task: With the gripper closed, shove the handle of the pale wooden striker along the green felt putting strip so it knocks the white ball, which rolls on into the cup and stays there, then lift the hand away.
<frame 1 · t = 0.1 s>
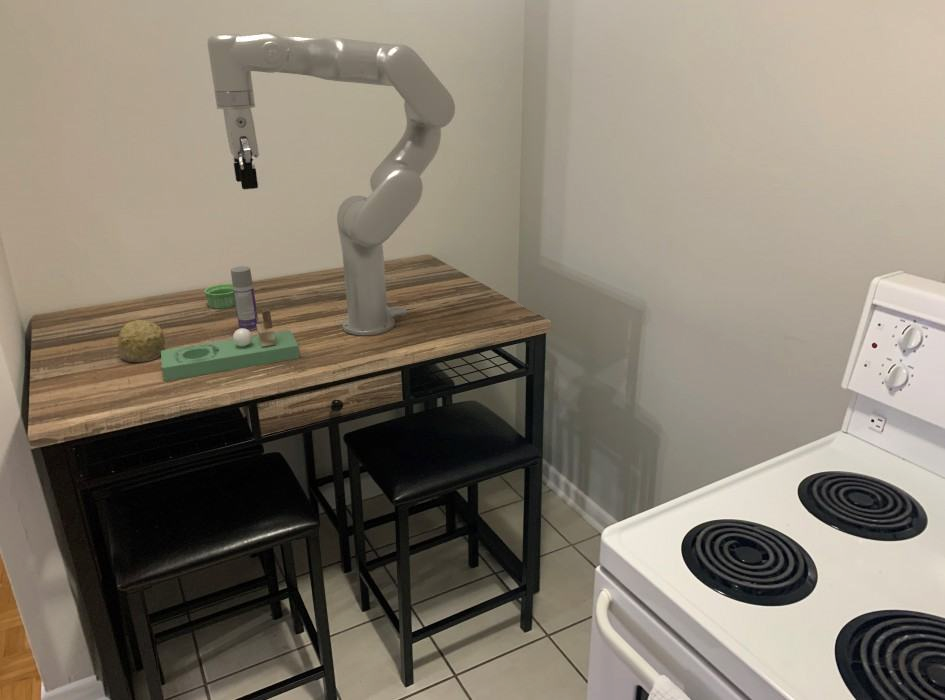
hand: (247, 184, 156), 37 cm above the table, tool pointing down, fingers open, 9 cm apart
striker: (264, 325, 161), point 7 cm above the table, slide at 0.0 cm
ramekin: (224, 305, 196), on the table
golf ball: (242, 337, 160), point 5 cm above the table, touching putting green
rock: (144, 355, 165), on the table
container: (249, 328, 180), on the table
putting green: (231, 360, 161), on the table
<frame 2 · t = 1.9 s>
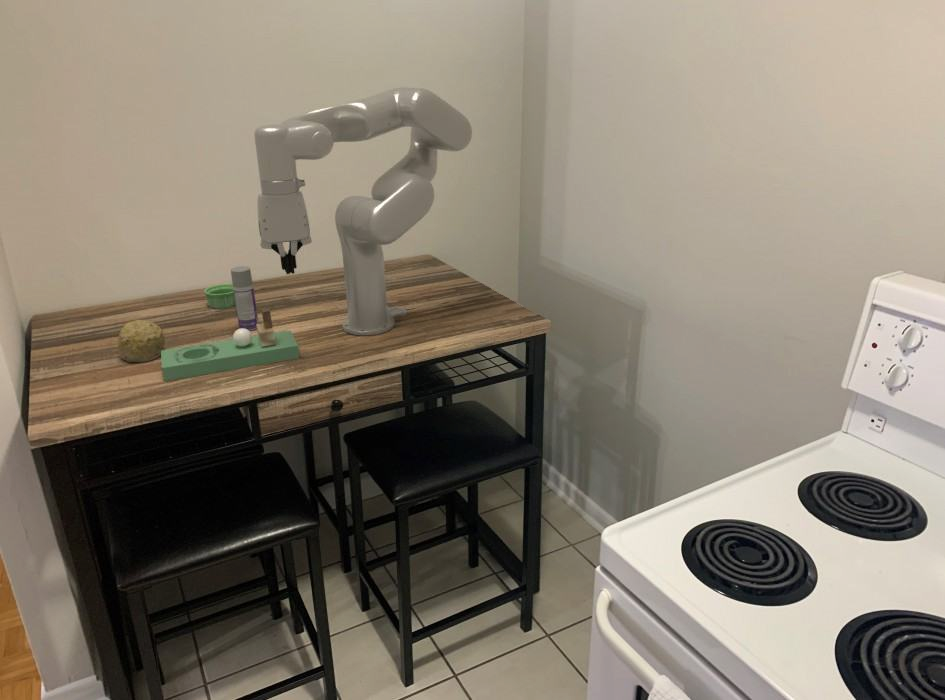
hand: (289, 272, 159), 18 cm above the table, tool pointing down, fingers closed
nothing on the table moved.
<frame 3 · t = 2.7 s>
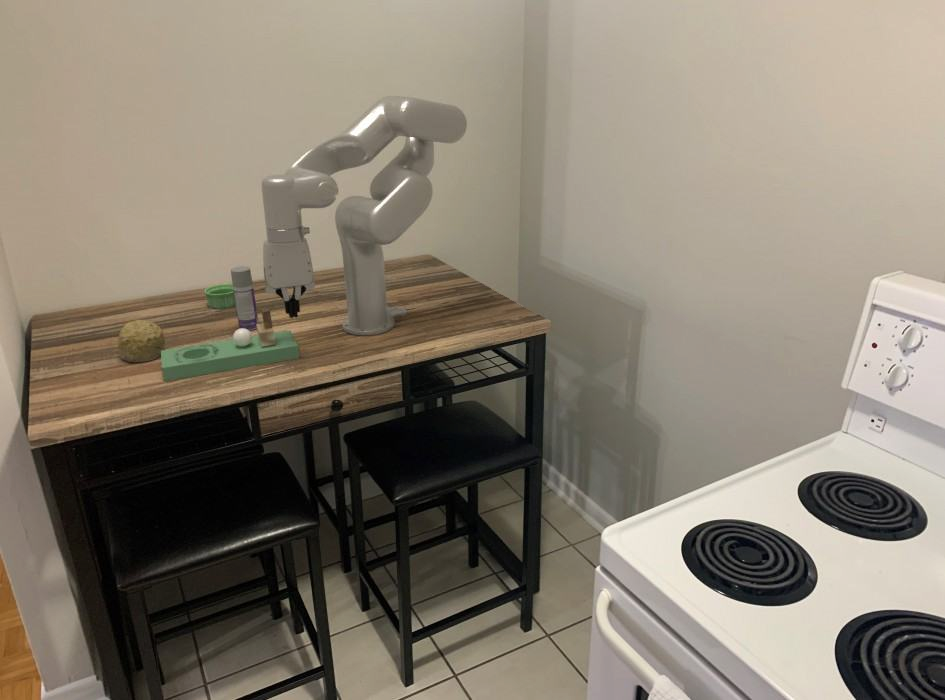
hand: (293, 315, 163), 8 cm above the table, tool pointing down, fingers closed
nothing on the table moved.
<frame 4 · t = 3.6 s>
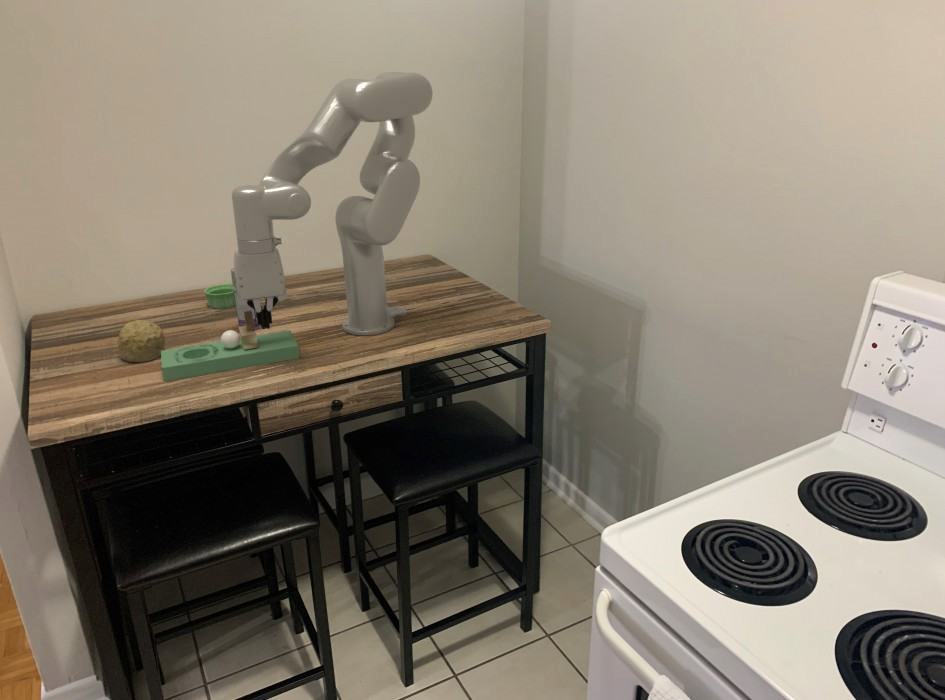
hand: (265, 326, 161), 7 cm above the table, tool pointing down, fingers closed
striker: (247, 328, 160), point 7 cm above the table, slide at 3.8 cm, touching gripper
golf ball: (230, 339, 159), point 5 cm above the table, tilted 72°, touching putting green
everything else where it was.
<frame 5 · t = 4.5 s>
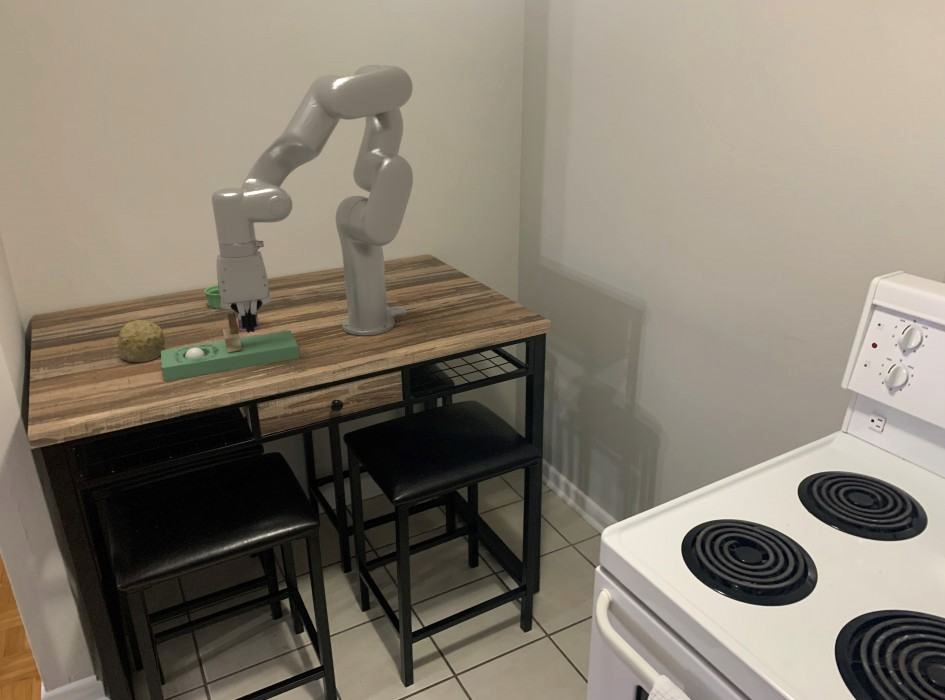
hand: (250, 330, 160), 6 cm above the table, tool pointing down, fingers closed
striker: (230, 331, 159), point 7 cm above the table, slide at 7.2 cm, touching gripper
golf ball: (195, 356, 158), point 2 cm above the table, tilted 46°, touching putting green
everything else where it was.
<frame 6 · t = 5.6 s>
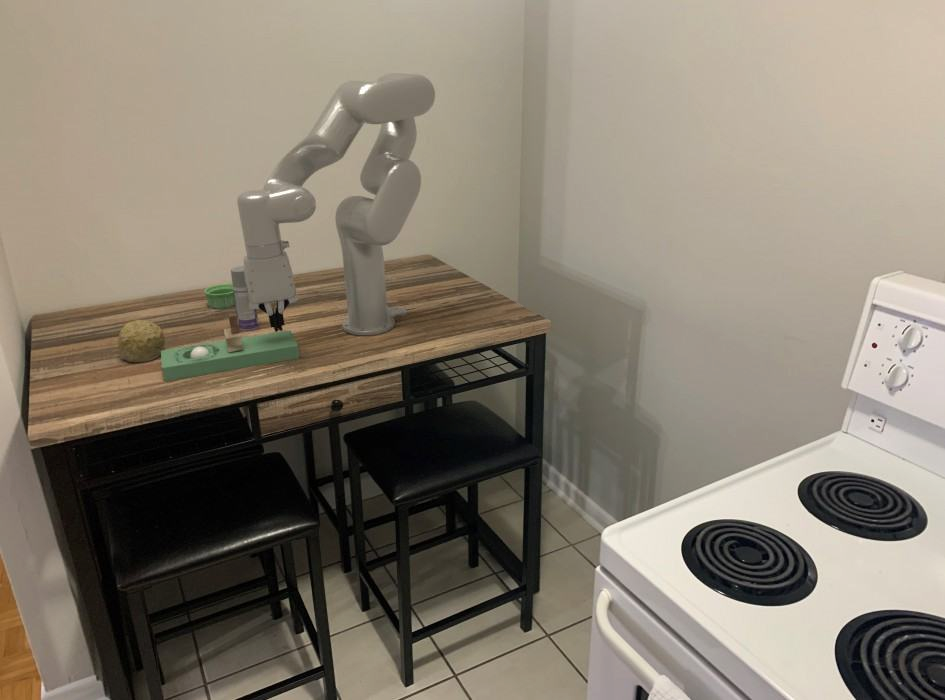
hand: (278, 329, 163), 6 cm above the table, tool pointing down, fingers closed
striker: (231, 330, 159), point 7 cm above the table, slide at 7.0 cm
golf ball: (200, 355, 158), point 2 cm above the table, tilted 77°, touching putting green
everything else where it was.
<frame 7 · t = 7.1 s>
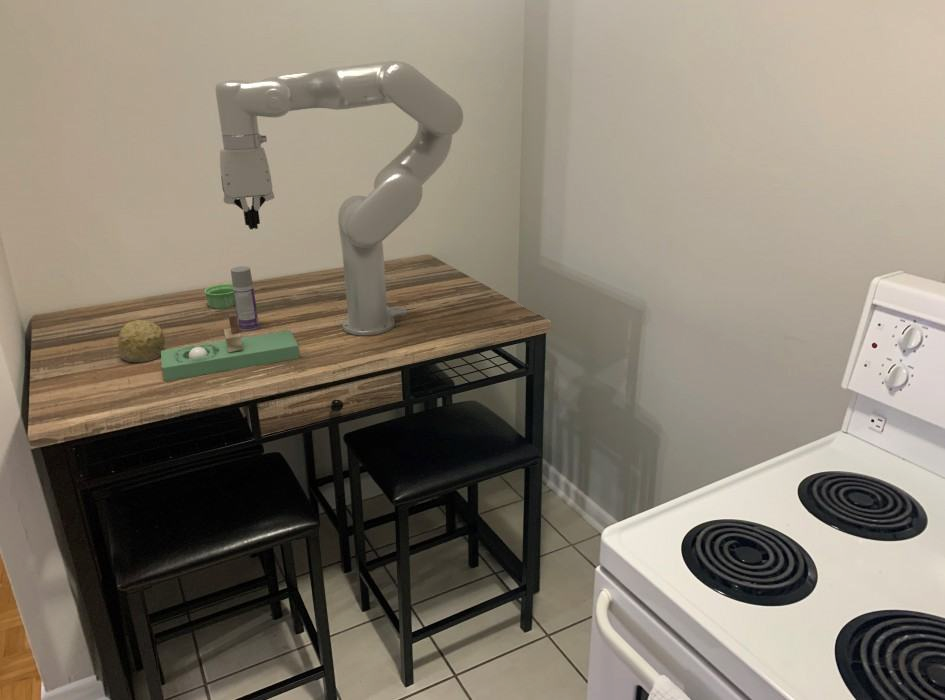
hand: (253, 227, 162), 27 cm above the table, tool pointing down, fingers closed
golf ball: (198, 356, 158), point 2 cm above the table, tilted 65°, touching putting green
everything else where it was.
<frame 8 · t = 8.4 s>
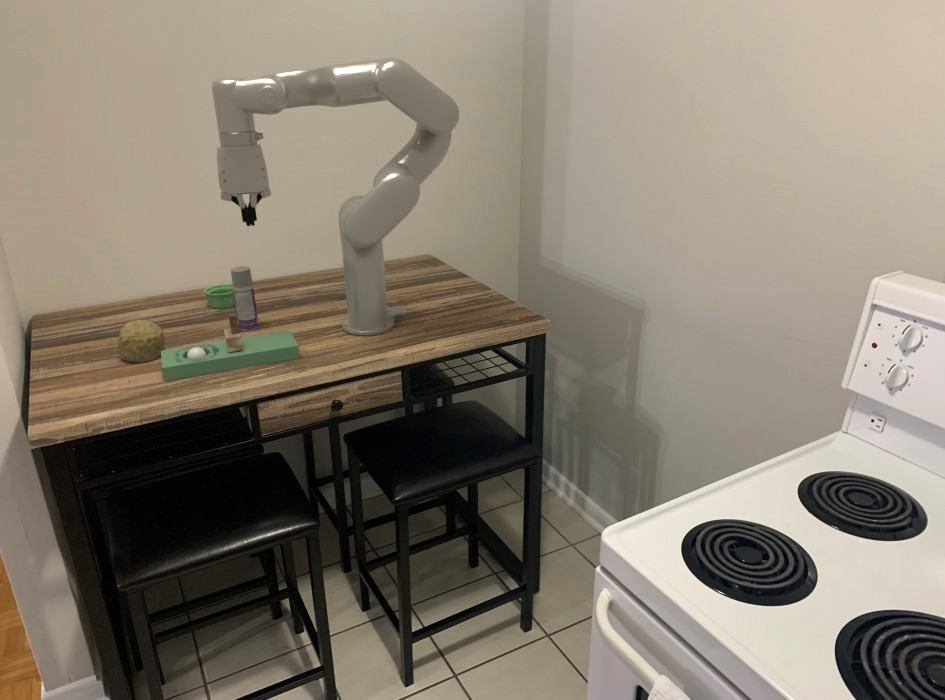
hand: (250, 224, 163), 27 cm above the table, tool pointing down, fingers closed
golf ball: (196, 356, 158), point 2 cm above the table, tilted 56°, touching putting green
everything else where it was.
at the end: golf ball 0.0 cm from the target spot on the putting green, point 2.3 cm above the putting green's base; golf ball moved 10.4 cm from its start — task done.
